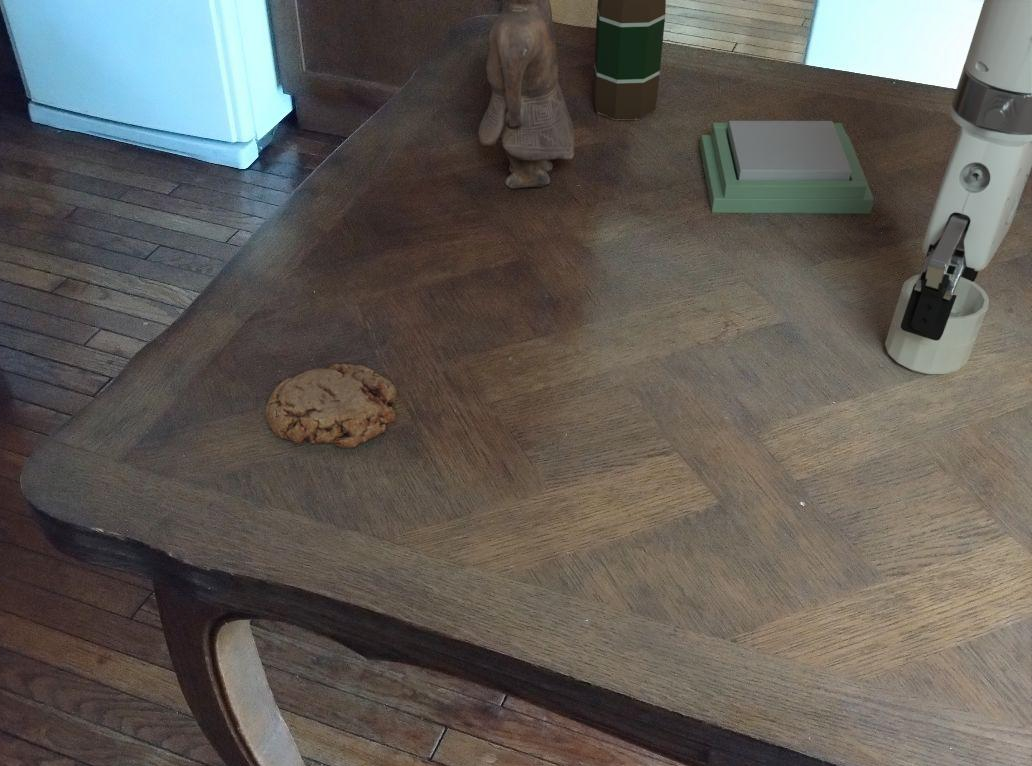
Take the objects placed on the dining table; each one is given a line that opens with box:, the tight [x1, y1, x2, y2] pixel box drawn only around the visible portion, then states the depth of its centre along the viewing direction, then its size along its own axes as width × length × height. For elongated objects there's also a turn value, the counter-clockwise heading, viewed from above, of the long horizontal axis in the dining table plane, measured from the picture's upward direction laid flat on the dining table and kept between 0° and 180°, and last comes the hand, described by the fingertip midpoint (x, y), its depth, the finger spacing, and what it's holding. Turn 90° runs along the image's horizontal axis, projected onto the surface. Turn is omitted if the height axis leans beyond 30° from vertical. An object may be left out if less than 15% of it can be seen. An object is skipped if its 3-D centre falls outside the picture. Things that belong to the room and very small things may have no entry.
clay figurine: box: [477, 0, 575, 190], centre depth 105 cm, size 13×10×25 cm
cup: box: [884, 273, 990, 375], centre depth 89 cm, size 7×7×6 cm
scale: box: [699, 122, 875, 215], centre depth 112 cm, size 16×14×3 cm
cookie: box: [265, 363, 397, 448], centre depth 86 cm, size 10×11×3 cm
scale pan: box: [727, 120, 851, 181], centre depth 110 cm, size 11×11×1 cm
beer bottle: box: [592, 0, 667, 122], centre depth 116 cm, size 8×8×24 cm
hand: (938, 304), depth 87 cm, fingers open, 9 cm apart
